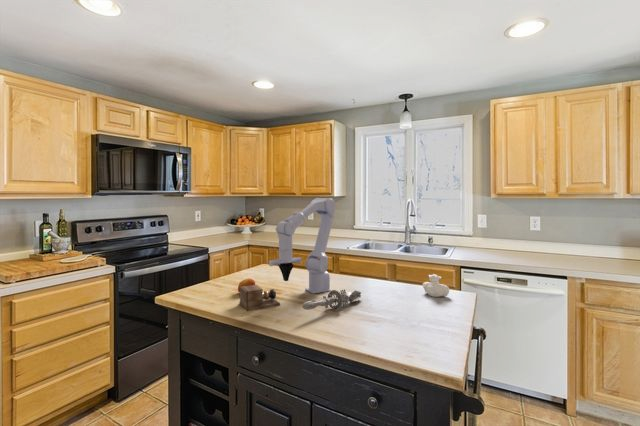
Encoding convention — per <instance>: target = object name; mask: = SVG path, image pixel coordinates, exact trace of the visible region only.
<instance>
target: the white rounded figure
mask: <svg viewBox="0 0 640 426" xmlns="http://www.w3.org/2000/svg"><path fill="white" fill-rule="evenodd" d="M428 278H429V281H430V282H429V281H425V282H422V284H421V286H422V288H423V289H424V292H425V293H426V294H427V295H429V296H431V297H433V298H434V297H435V298H438V297H448V296H449V293H450V288H449V286H448V285H446V284H441V283H440V280H441V279H442V276H439V275H437V274H435V273H432V274H428Z"/></svg>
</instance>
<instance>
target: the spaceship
mask: <svg viewBox="0 0 640 426" xmlns="http://www.w3.org/2000/svg"><path fill="white" fill-rule="evenodd" d="M362 297H363V296H362V292H361V291H358V290H354V291H352V292H351V291H350V292H349V291H348V292H347V293H346V289H342V290H341V289H340V291H339V290H336V289H331V290H330V291H328V294H327V295H322V298H321V299H319V300H318V301H316V300H309V301H305V302H303V304H302V306H301V308H302V309H303V310H306V311H307V310H308V311H309V310H312V309H316V308H317V307H324V308H325V309H329V308H331V310H334V311H339V310H341V308H342V307H343V308H345V307H349V306H350V305H349V303H352V302H354V301H356V302H358V301H359V300H361V299H362Z"/></svg>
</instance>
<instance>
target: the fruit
mask: <svg viewBox="0 0 640 426" xmlns="http://www.w3.org/2000/svg"><path fill="white" fill-rule="evenodd" d="M250 285H256V281H255V280H254V279H253V278H250V277H249V278H245V279H242V280H240V281H239V284H238V287H237V290H238V293H240V287H243V286H250Z"/></svg>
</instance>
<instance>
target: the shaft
mask: <svg viewBox="0 0 640 426" xmlns="http://www.w3.org/2000/svg"><path fill="white" fill-rule="evenodd" d="M276 293H277V292H276V290H275V289H274V288H272V289H270V290H263V299H265V300H267V299H269V298H271V299H275V300H276V297H277V294H276Z"/></svg>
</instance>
